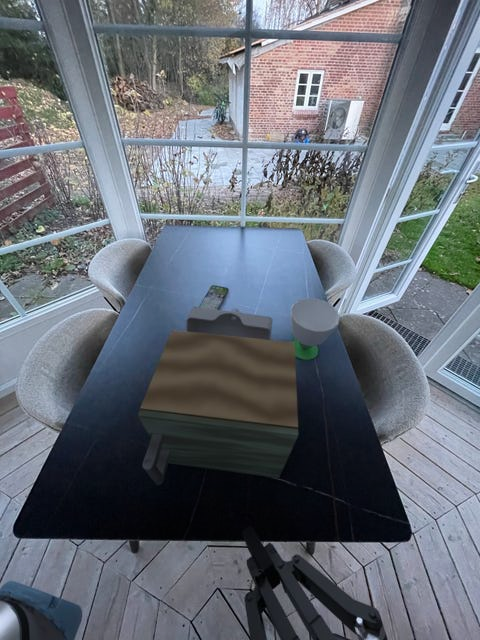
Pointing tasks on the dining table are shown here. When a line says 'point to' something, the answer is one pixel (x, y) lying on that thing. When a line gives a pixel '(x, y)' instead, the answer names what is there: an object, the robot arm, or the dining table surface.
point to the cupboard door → (214, 445)
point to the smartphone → (214, 297)
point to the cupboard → (226, 379)
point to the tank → (228, 323)
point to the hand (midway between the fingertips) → (249, 537)
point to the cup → (312, 325)
